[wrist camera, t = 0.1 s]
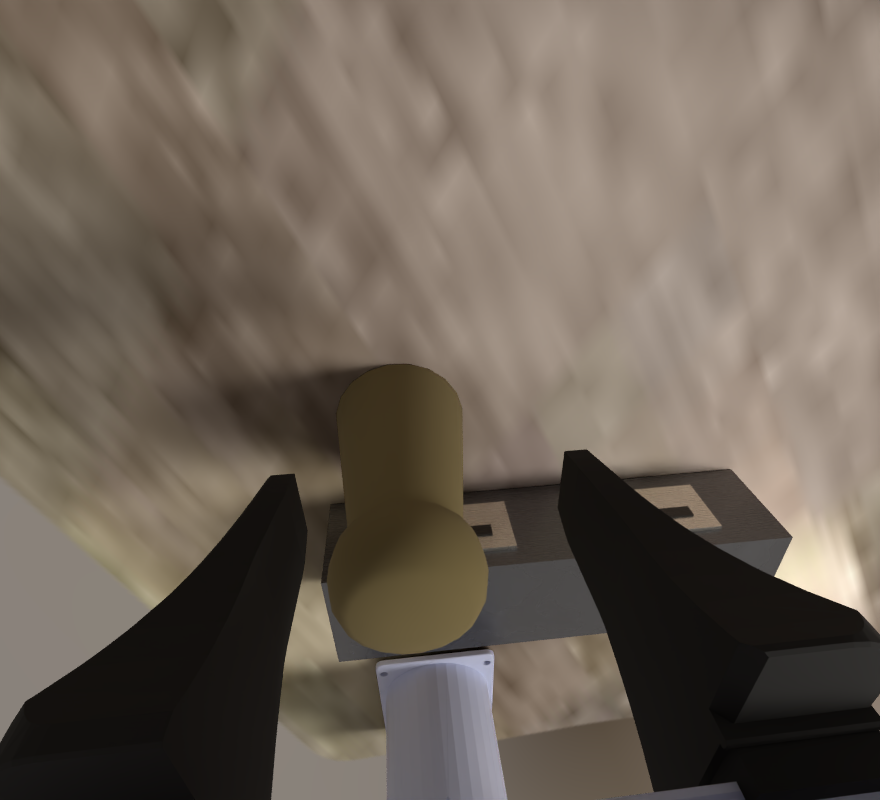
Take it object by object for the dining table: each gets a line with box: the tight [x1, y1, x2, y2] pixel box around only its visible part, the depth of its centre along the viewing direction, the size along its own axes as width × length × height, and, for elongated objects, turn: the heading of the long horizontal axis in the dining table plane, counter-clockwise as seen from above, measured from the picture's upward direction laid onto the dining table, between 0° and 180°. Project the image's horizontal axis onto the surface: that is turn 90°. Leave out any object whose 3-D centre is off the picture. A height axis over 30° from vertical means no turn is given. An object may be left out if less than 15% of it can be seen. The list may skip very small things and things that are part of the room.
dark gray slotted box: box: [321, 470, 793, 662], centre depth 27 cm, size 6×22×5 cm, turn 92°
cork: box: [327, 364, 489, 654], centre depth 20 cm, size 6×6×11 cm
